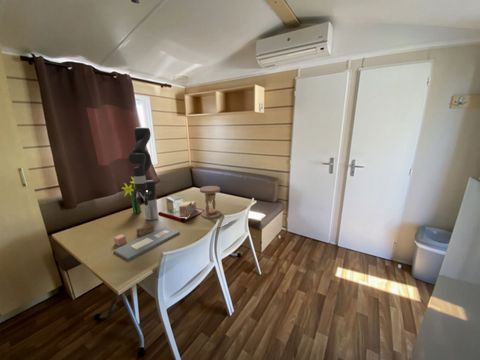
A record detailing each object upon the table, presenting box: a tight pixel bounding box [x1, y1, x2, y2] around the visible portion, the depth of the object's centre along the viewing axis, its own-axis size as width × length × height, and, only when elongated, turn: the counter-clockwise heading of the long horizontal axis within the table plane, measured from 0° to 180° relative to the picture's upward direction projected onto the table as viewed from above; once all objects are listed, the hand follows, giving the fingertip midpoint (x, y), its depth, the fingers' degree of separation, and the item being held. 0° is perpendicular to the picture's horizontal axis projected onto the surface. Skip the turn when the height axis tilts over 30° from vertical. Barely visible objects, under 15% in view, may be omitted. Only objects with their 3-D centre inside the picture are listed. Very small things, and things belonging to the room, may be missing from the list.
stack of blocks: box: [178, 200, 197, 218], centre depth 180 cm, size 21×6×12 cm, turn 171°
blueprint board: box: [113, 226, 181, 262], centre depth 136 cm, size 16×38×2 cm, turn 148°
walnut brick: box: [135, 222, 154, 237], centre depth 149 cm, size 5×10×5 cm, turn 150°
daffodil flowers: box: [121, 175, 142, 216], centre depth 180 cm, size 17×15×35 cm
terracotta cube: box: [113, 233, 127, 247], centre depth 134 cm, size 5×5×5 cm
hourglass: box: [199, 185, 222, 220], centre depth 177 cm, size 18×18×25 cm
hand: (142, 203), depth 144 cm, fingers open, 8 cm apart
